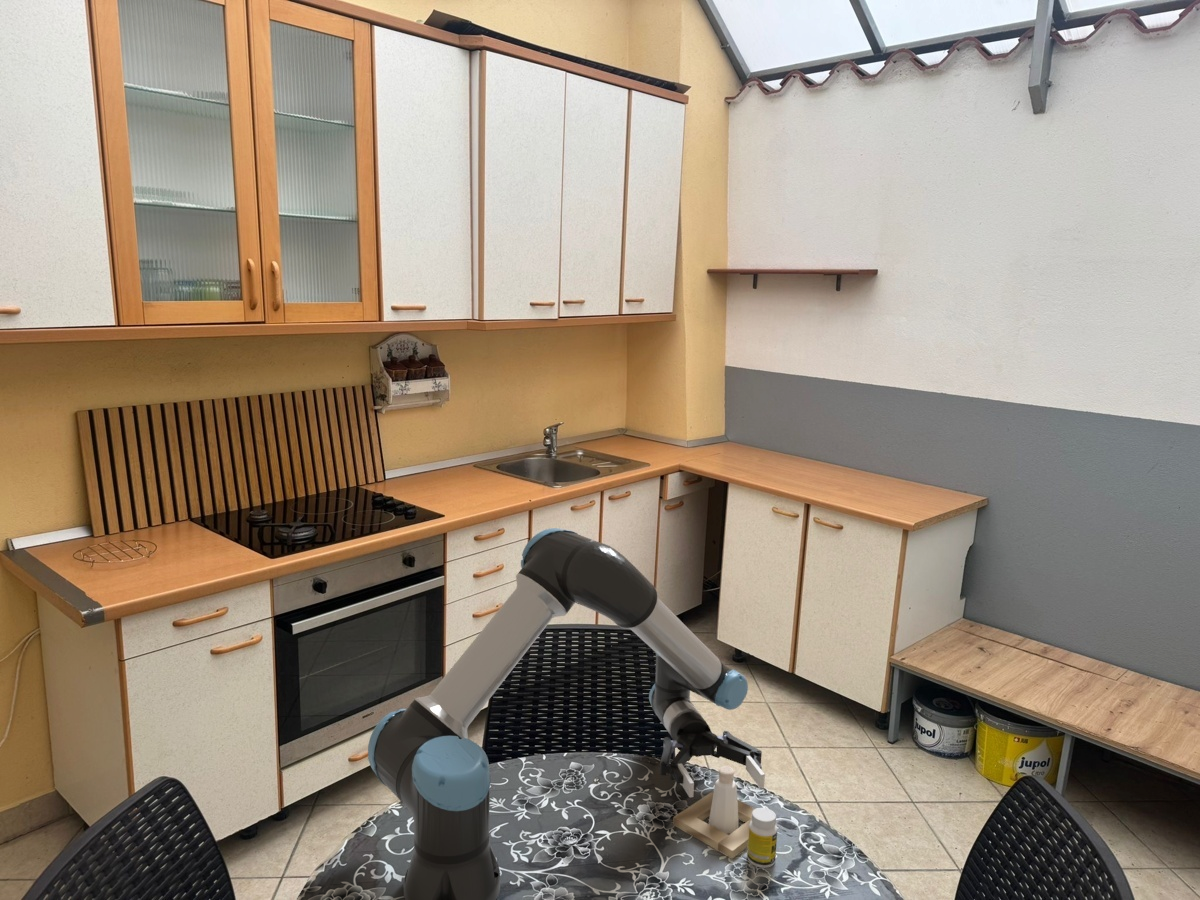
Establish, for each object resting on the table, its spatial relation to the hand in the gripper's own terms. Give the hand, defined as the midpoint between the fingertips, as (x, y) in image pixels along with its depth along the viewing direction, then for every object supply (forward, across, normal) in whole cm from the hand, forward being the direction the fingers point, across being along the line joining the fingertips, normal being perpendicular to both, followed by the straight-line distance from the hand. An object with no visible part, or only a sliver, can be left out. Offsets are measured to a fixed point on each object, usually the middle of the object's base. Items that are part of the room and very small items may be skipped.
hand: (727, 785), depth 148 cm
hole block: (0, 0, -8) cm, 8 cm away
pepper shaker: (0, 0, -8) cm, 8 cm away
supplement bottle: (+10, -2, -8) cm, 13 cm away
